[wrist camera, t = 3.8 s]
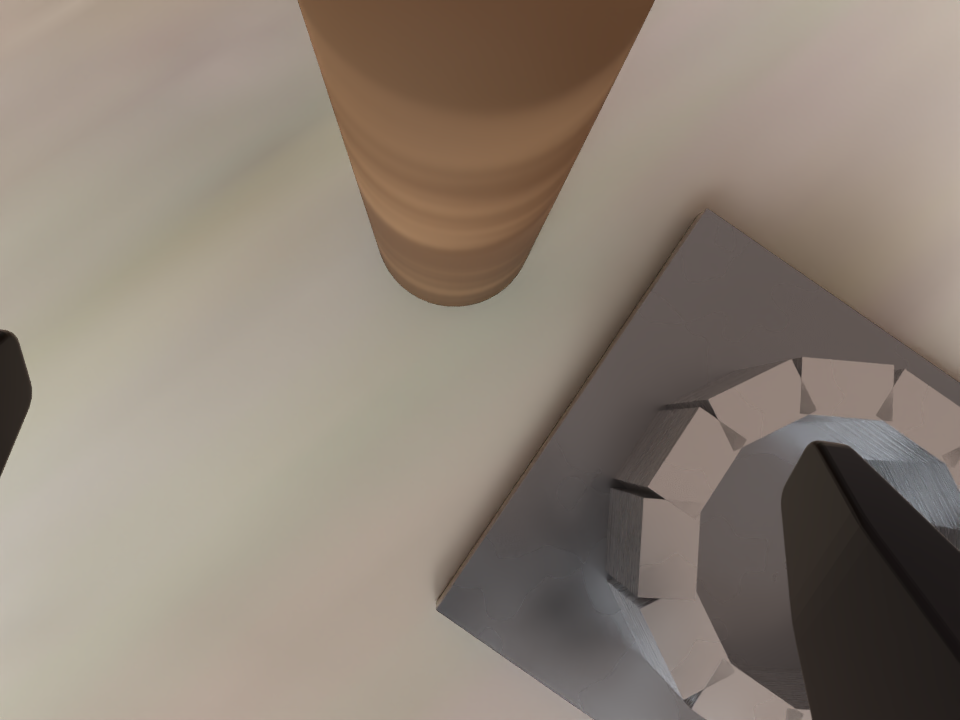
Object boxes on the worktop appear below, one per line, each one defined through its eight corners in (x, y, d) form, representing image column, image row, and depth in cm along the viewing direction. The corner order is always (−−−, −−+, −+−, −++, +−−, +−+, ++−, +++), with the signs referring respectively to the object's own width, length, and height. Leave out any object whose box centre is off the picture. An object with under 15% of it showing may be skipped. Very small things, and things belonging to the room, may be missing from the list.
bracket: (834, 879, 20) (931, 987, 16) (436, 602, 20) (436, 643, 17) (1072, 476, 22) (1216, 486, 18) (697, 216, 22) (756, 167, 18)
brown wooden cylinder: (474, 336, 21) (529, 183, 8) (345, 248, 21) (199, -44, 8) (561, 211, 22) (744, -124, 9) (434, 124, 22) (428, -338, 9)
